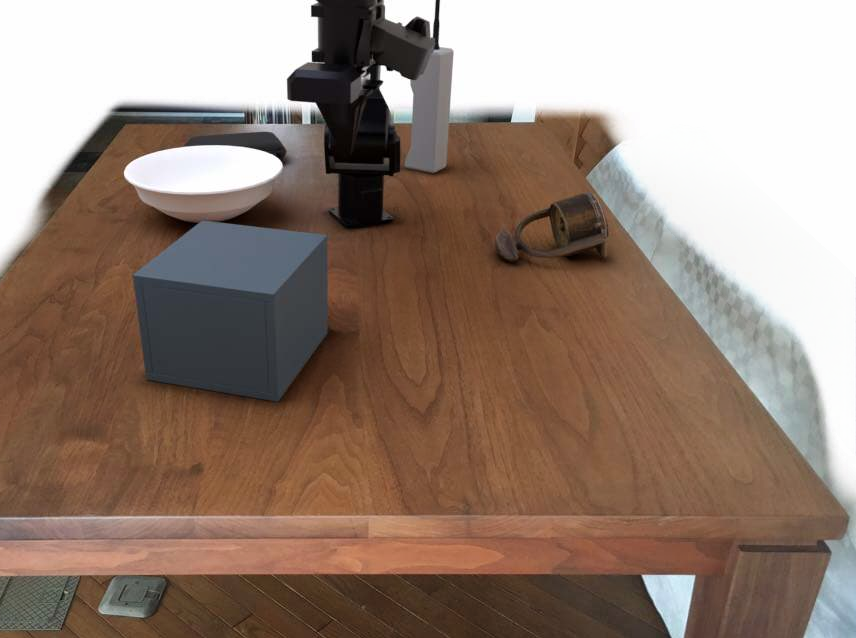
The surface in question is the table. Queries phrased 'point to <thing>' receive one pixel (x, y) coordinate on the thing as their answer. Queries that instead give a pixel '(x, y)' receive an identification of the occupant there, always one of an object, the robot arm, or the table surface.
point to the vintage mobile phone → (431, 109)
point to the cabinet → (233, 308)
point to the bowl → (204, 180)
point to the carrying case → (243, 142)
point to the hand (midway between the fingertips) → (346, 154)
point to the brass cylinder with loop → (562, 229)
